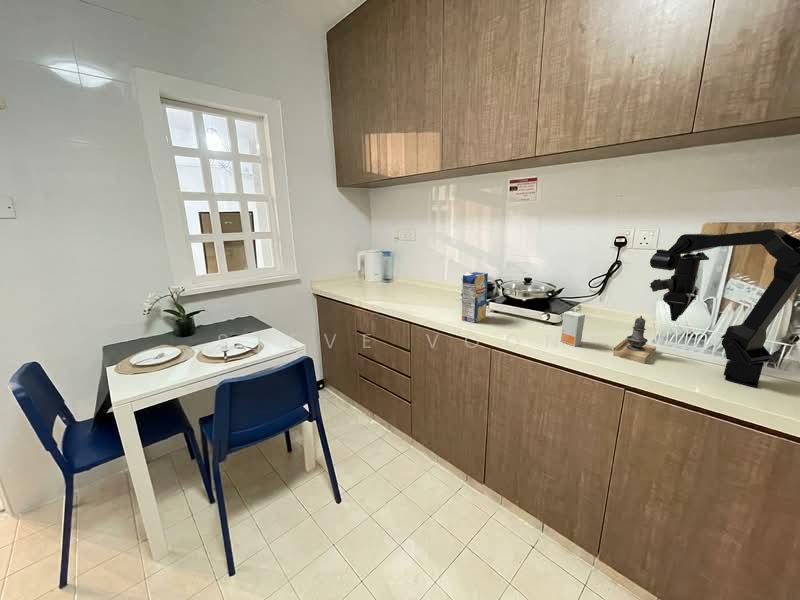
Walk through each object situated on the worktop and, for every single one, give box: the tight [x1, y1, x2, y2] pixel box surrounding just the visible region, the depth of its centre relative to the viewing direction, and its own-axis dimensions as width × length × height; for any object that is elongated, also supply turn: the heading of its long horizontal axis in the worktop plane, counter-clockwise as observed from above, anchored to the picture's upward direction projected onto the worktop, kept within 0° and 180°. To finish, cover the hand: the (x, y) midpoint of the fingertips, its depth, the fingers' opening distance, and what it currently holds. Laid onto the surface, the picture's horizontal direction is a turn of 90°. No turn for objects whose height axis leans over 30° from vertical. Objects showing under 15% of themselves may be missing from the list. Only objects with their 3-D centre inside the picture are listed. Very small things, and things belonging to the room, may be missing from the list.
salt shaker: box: [626, 315, 648, 351], centre depth 109 cm, size 6×6×12 cm
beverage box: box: [461, 271, 489, 324], centre depth 150 cm, size 7×11×22 cm, turn 137°
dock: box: [612, 337, 657, 364], centre depth 111 cm, size 9×14×3 cm, turn 130°
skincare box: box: [559, 310, 586, 347], centre depth 120 cm, size 6×4×12 cm
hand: (676, 317), depth 107 cm, fingers open, 9 cm apart
